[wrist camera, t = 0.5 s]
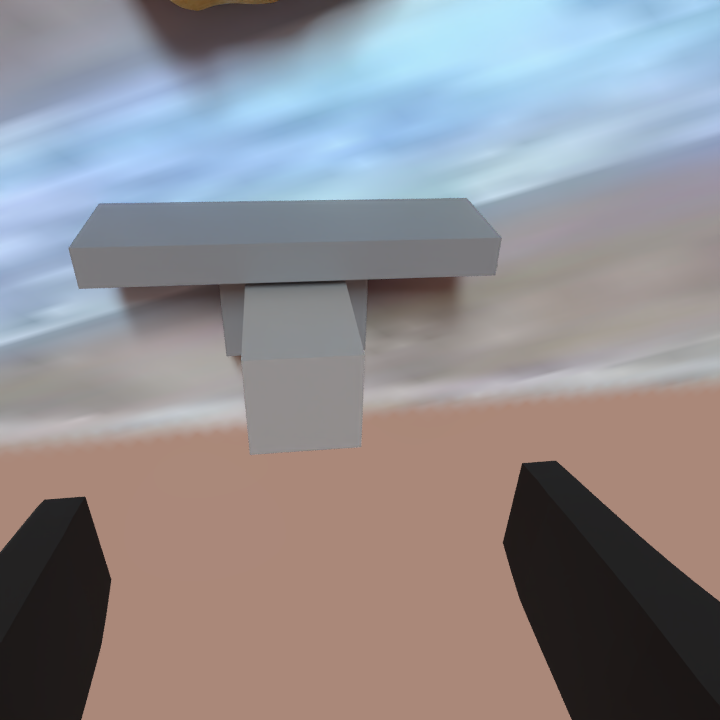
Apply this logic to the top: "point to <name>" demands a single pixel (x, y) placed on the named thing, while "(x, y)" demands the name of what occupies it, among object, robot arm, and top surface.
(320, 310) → the pusher
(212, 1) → the pastry
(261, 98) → the top surface
